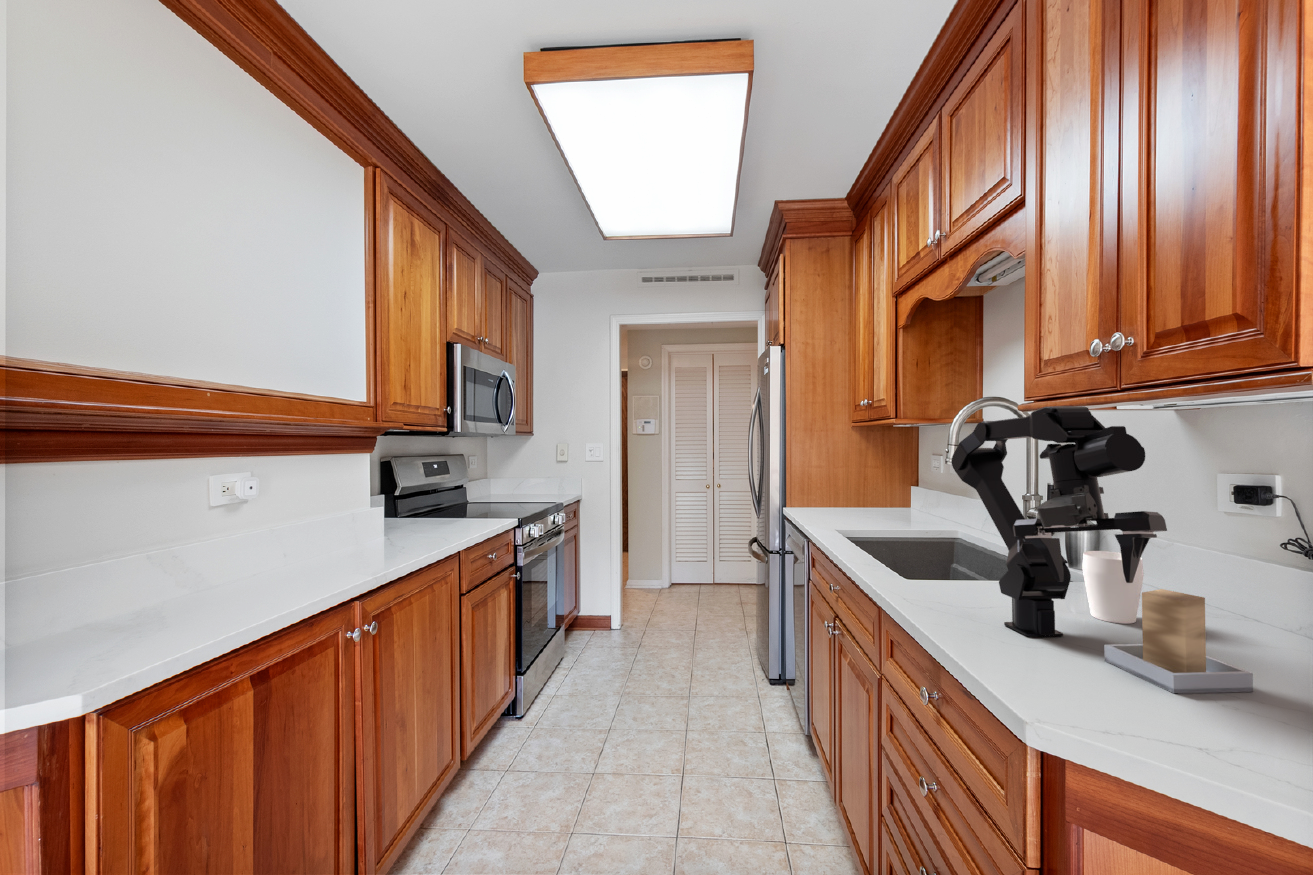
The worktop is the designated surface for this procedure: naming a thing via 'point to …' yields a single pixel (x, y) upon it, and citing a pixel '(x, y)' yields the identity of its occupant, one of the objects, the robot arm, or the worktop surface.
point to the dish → (1211, 681)
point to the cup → (1111, 587)
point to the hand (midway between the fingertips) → (1093, 582)
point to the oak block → (1174, 631)
